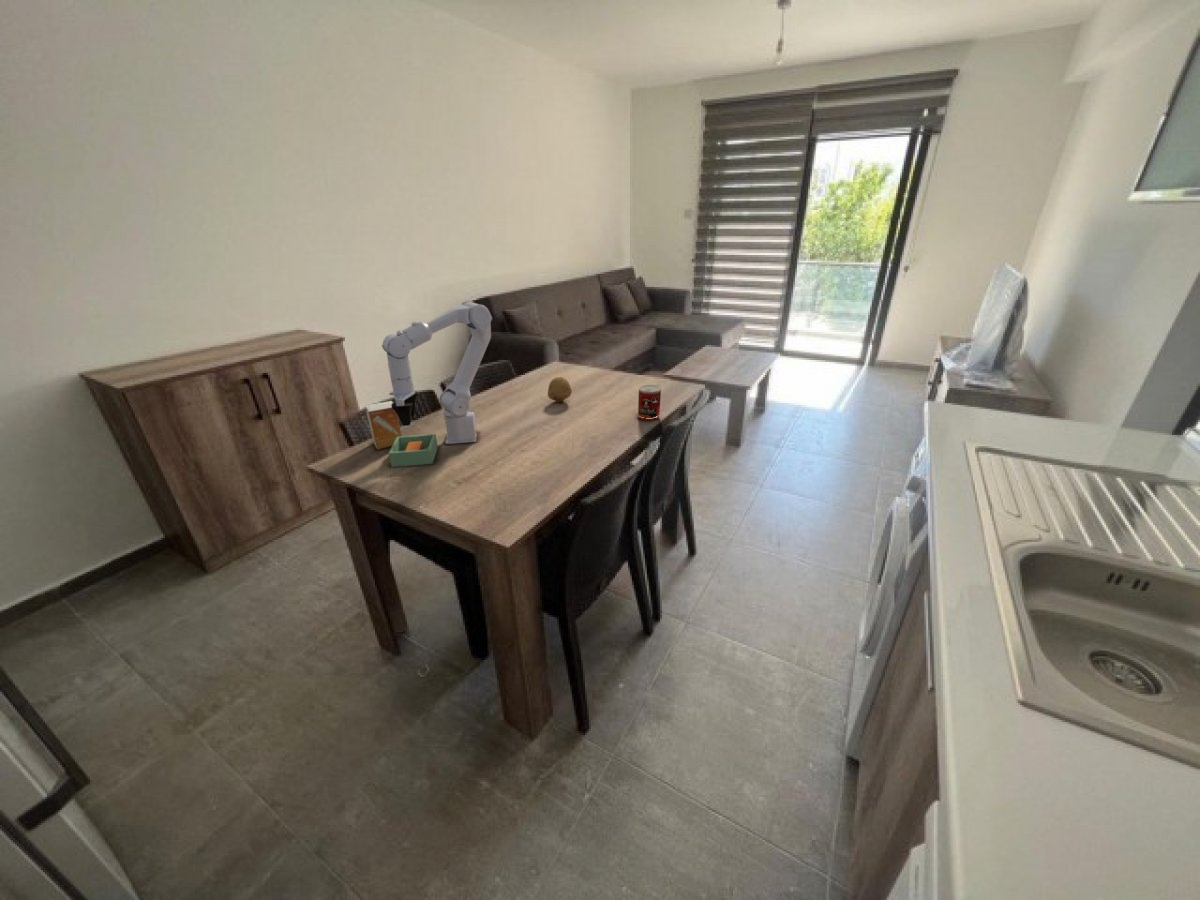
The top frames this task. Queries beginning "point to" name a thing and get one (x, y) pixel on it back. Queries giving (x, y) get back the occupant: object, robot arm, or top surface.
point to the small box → (383, 424)
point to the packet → (415, 446)
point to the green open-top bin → (413, 451)
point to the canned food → (649, 402)
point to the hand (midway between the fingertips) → (408, 420)
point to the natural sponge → (559, 389)
